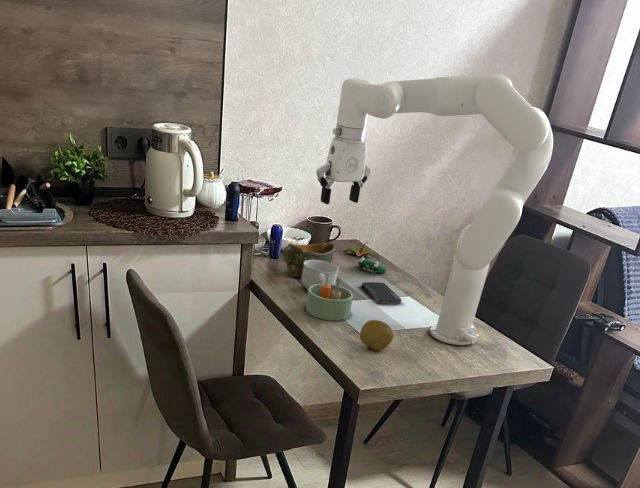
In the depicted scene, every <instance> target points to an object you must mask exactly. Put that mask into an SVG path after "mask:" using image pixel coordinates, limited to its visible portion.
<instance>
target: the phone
mask: <svg viewBox="0 0 640 488" xmlns="http://www.w3.org/2000/svg"><path fill="white" fill-rule="evenodd" d="M361 288H362V289H363V290H364V291H365V292H366V293H367V294H368V295H369V296H370V297H371V298H372V299H373V300H374V301H375V302H376V303H377V304H379V305H400V304H401V303H402V298H401V297H400V296H398V295H397V293H396V292H394V291H393V290H392V289H391V288H390V287H389V286H388V285H387V284H386V283H384V282H380V281H379V282H377V281H373V282H371V281H365V282H364V281H363V282H362V283H361Z"/></svg>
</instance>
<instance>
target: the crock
mask: <svg viewBox="0 0 640 488" xmlns="http://www.w3.org/2000/svg"><path fill="white" fill-rule="evenodd" d="M321 285H323V284H315V285H312V286H310V287H309V289H308V290H307V296H306V304H305V311H306V312H307V313H308V314H309V315H310V316H312V317H314V318H317V319H320V320H325V321H335V322H337V321H343V320H347V319H348V318H349V317H350V314H351V310H352V305H353V298H354V293H353V292H352V291H351V290H350V289H348V288H346V287H344V286H341V285H339V287H338V290H339V292H341V296H340V300H332V299H331V295H332V291H335V290H336V286H337V284H335V285H333V284H328V285H330V286H331V290H330V296H329V299H326V298H322V297H320V291H321Z"/></svg>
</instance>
